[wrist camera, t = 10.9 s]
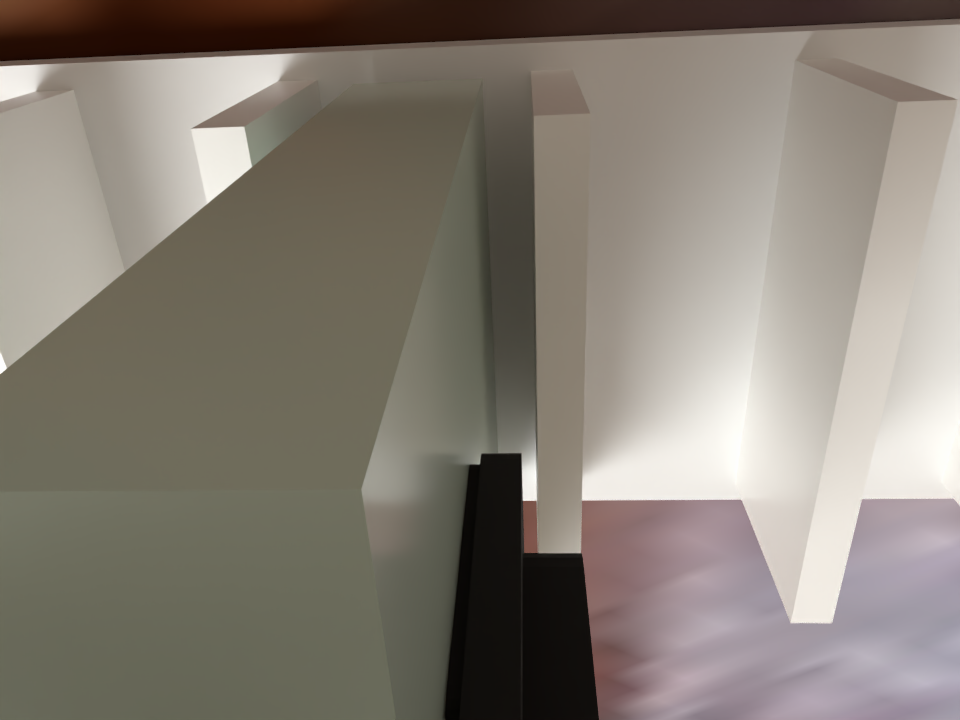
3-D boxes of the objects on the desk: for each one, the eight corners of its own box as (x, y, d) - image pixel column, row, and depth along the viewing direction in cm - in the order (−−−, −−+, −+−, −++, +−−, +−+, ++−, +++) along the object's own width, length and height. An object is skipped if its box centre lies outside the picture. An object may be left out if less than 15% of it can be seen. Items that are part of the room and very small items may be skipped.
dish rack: (1205, 7, 15) (1544, 37, 10) (1033, 473, 20) (1199, 643, 15) (-41, 63, 16) (-281, 111, 11) (103, 479, 21) (-19, 634, 17)
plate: (482, 78, 14) (361, 489, 3) (500, 507, 19) (473, 1232, 8) (352, 83, 14) (-144, 491, 4) (403, 508, 19) (254, 1219, 8)
